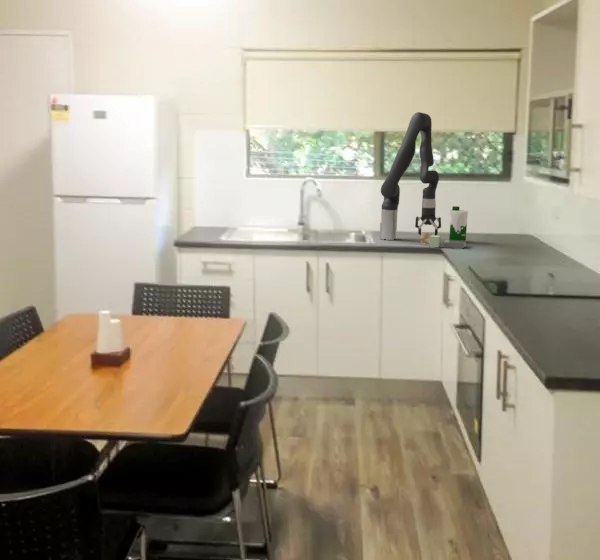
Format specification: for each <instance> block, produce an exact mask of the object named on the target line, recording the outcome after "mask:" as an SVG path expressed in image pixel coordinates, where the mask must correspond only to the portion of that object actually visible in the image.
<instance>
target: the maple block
mask: <svg viewBox="0 0 600 560" xmlns="http://www.w3.org/2000/svg"><path fill="white" fill-rule="evenodd" d="M431 235H432V232H421V235H420V244H421V243H425V244H424V245H426V244H430V236H431Z"/></svg>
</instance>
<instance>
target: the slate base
mask: <svg viewBox="0 0 600 560" xmlns="http://www.w3.org/2000/svg"><path fill="white" fill-rule="evenodd" d="M466 246H467V240H466V241H462V240H449V239H445V240H444V241H443V247H452V248H451V249H457V248H464V247H465V248H466ZM465 248H464V249H465Z"/></svg>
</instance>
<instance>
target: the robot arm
mask: <svg viewBox="0 0 600 560" xmlns="http://www.w3.org/2000/svg"><path fill="white" fill-rule="evenodd" d="M432 128H433V127H432V118H431V116H430V115H429V114H428V113H424V112H415V113H413V115H412V116H411V118H410V120H409V123H408V126H407V129H406V133H405V134H404V138H403V139H402V140H401V143H400V147H399V149H398V151H397V153H396V155H395V157H394V160H393V163H392V165H391V167H390V170H389V172H388V174H387V176H386V178H385V180H384V181H383V183H382V184H381V188H380V193H381V196H383V201H382V203H381V211H380V212H381V214H380V217H381V219H380V223H379V240H384V239H386V241H395V240H394V239H396V240H397V232H398V231H397V230H398V211H399V209H398V208H399V204H400V195H401V194H400V192H401V189H400V185H399V183H400V180H401V178H402V177H403V175H404V174H405V172H406V171H407V170H408V168H409V167H410V165H411V163H412V161H413V158H414V156H415V153H416V143H417V139H418V136H419V134H420V139H421V140H420V141H421V143H420V145H419V147H420V148H419V158H420V170H419V171H420V172H419V180H420V182H421V183H422V184H428V185H427V187H424V188H423V189H422V200H421V201H422V202H421V216H416V217H415V224H414V227H415V228H417V229H418V231H417V233H418V235H419V236H421V233H422V227H423V226H424V225H425V226H428V225H429V226H431V225H432V226H433V227H434V235H436V236H438V231H439V229H441V228H442V217H440V216H439V217H437V216H436V207H437V205H436V204H437V203H436V191H437V187H438V184H439V180H440V175H439V173H438V171H437V170H429V168H431V167H432V166H434V165H435V164H434V163H435V160H434V155H433V146H432V145H433V143H432ZM420 220H421V223H420V224H419V221H420ZM435 221H437V222H438V225H437V224H436V222H435Z"/></svg>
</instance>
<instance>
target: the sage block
mask: <svg viewBox="0 0 600 560" xmlns="http://www.w3.org/2000/svg"><path fill="white" fill-rule="evenodd" d="M440 245H441V235H435V234H431V236H430V245H429V246H431V247H430V248H435V247H439V246H440ZM440 247H441V246H440ZM440 247H439V248H440Z"/></svg>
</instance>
